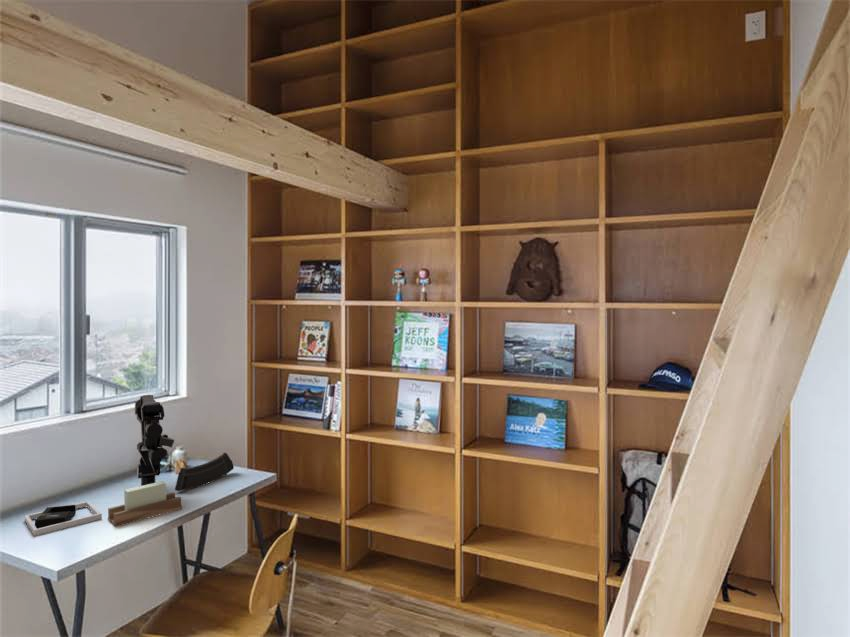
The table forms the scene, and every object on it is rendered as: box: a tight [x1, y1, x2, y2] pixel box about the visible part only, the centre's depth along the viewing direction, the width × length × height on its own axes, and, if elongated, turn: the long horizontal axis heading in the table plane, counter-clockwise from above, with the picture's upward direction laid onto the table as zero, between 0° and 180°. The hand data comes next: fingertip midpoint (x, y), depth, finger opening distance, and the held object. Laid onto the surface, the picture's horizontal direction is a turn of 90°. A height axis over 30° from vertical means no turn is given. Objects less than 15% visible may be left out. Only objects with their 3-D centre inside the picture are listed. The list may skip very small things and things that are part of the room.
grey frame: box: [24, 500, 103, 537], centre depth 199 cm, size 18×21×2 cm
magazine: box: [174, 452, 235, 492], centre depth 240 cm, size 17×3×30 cm
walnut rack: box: [107, 492, 183, 527], centre depth 205 cm, size 9×24×4 cm, turn 136°
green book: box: [124, 480, 167, 510], centre depth 205 cm, size 4×14×10 cm, turn 136°
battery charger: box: [34, 504, 77, 529], centre depth 197 cm, size 13×10×4 cm
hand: (152, 469), depth 219 cm, fingers open, 9 cm apart
